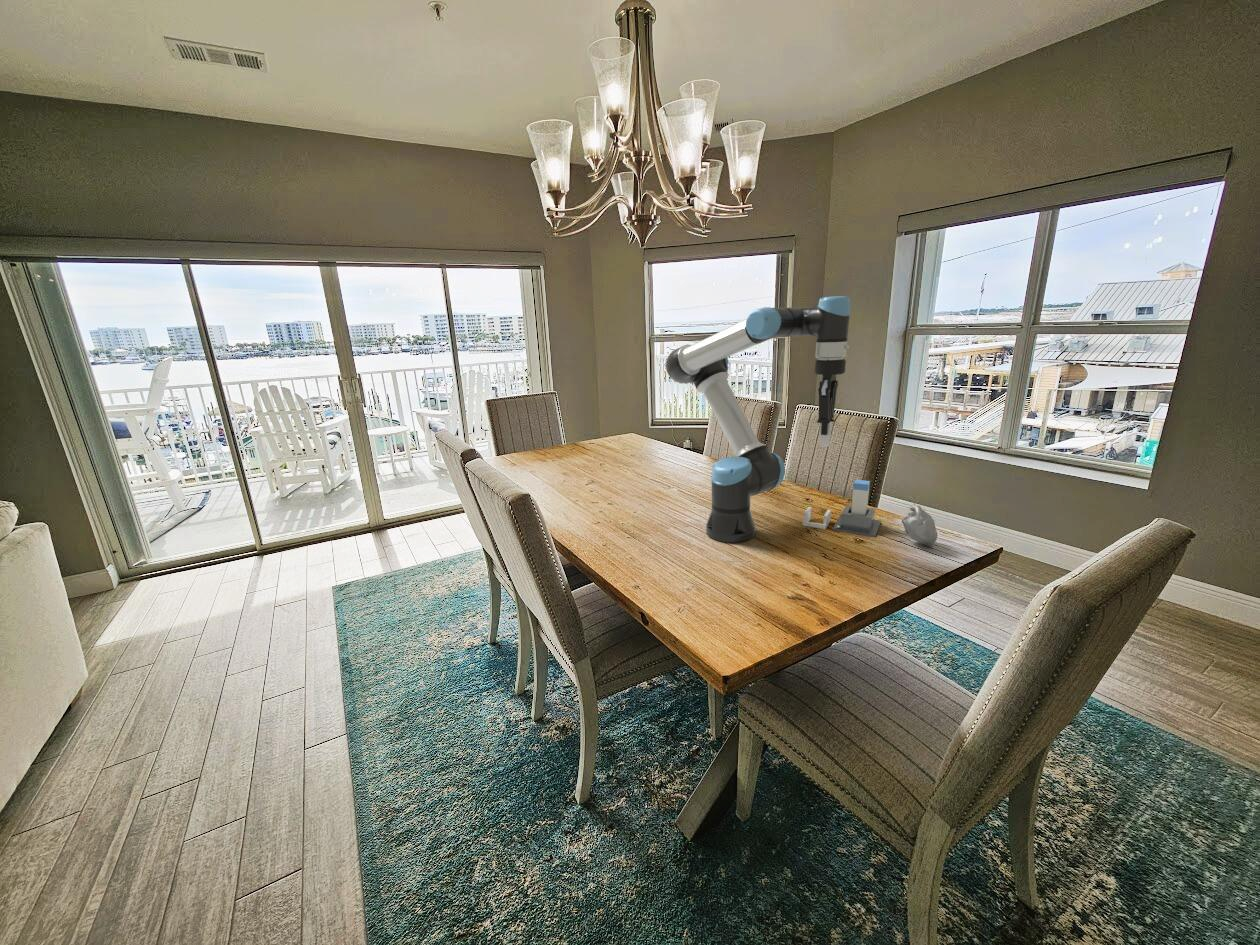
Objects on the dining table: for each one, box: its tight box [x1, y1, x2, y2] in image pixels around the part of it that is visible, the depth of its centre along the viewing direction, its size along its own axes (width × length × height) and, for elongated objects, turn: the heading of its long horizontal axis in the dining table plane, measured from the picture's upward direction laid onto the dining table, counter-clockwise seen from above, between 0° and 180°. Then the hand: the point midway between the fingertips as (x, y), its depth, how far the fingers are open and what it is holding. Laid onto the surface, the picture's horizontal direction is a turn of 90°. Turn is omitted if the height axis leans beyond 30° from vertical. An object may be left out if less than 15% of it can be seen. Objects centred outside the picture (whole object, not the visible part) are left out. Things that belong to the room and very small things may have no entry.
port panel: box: [832, 504, 882, 538], centre depth 150 cm, size 12×13×5 cm
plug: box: [851, 479, 871, 515], centre depth 149 cm, size 4×4×14 cm
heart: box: [901, 504, 938, 548], centre depth 135 cm, size 10×10×12 cm
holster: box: [801, 506, 832, 530], centre depth 154 cm, size 7×7×4 cm
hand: (824, 445), depth 133 cm, fingers closed
